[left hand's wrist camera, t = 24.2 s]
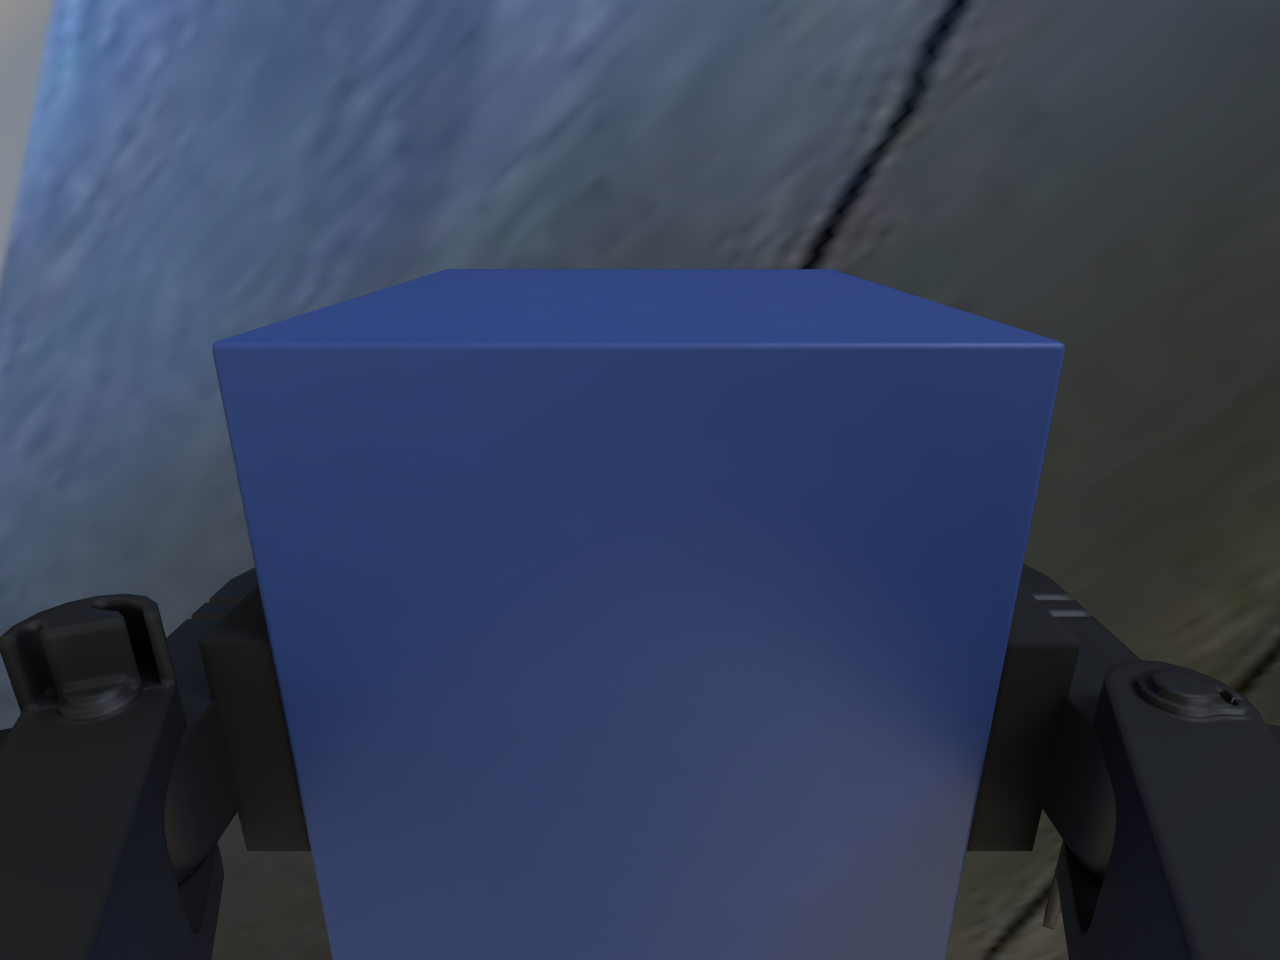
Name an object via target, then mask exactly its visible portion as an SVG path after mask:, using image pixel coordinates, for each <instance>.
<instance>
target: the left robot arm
mask: <svg viewBox="0 0 1280 960" xmlns="http://www.w3.org/2000/svg"><path fill="white" fill-rule="evenodd" d="M0 652H1V655H2V658H3V661H4V664H5V667H6V670H7V673H8V676H9V678H10V681H11V684H12V687H13V690H14V693H15V696H16V699H17V702H18V705H19V708H20V710H21V715H20V716H19V718H18V720H17V721H16V723H15V725H14V726H13V728H10V729H4V730H0V960H211V958H212V951H213V945H214V938H215V932H216V925H217V918H218V912H219V905H220V899H221V892H222V886H223V879H224V871H223V864H222V858H221V854H220V850H219V846H218V842H217V841H218V840H219V838H220V837H221V835H222V834H223V832H224V831H225V829H226V828H227V826H228V825H229V823H230V822H231V820H232V819H233V817H234V816H235V814H236V813H237V811H238V814H239V818H240V822H241V827H242V831H243V835H244V839H245V844H246V848H247V851H311V847H310V842H309V837H308V832H307V827H306V822H305V817H304V812H303V807H302V802H301V797H300V791H299V786H298V781H297V776H296V771H295V766H294V761H293V756H292V751H291V746H290V741H289V736H288V731H287V726H286V721H285V715H284V710H283V705H282V700H281V695H280V690H279V685H278V680H277V675H276V670H275V665H274V660H273V655H272V650H271V645H270V639H269V634H268V629H267V624H266V619H265V614H264V609H263V604H262V599H261V594H260V589H259V584H258V579H257V574H256V569H255V568H253V569H251V570H249V571H247V572H245V573H243V574H241V575H239V576H237V577H235V578H233V579H231V580H230V581H229V582H228V583H227V584H226V585H224V586H223V587H222V588H221V589H220V590H219V591H218V592H217V593H216V594H215V595H213V596H212V597H211V598H210V602H209V603H205V604H204V605H202V606H201V607H200V608H199V609H198V610H197V611H196V612H195V613H194V614H193V615H192V619H187V620H186V621H185V622H184V623H183V624H181V625H180V626H179V627H178V628H177V629H176V630H175V631H174V632H173V633H172V634H170V635H169V636H168V637H167V638H166V636H165V632H164V628H163V624H162V620H161V616H160V612H159V608H158V604H157V603H156V602H154V601H153V600H151V599H149V598H148V597H146V596H139V595H131V594H116V595H103V596H95V597H91V598H86V599H82V600H77V601H72V602H68V603H65V604H62V605H59V606H56V607H54V608H51V609H48V610H45V611H42V612H39V613H37V614H35V615H33V616H31V617H29V618H28V619H26V620H24V621H22V622H20V623H18V624H16V625H14V626H12V627H11V628H10V629H9V630H8V631H7V632H6V633H4V634H3V635H2V636H1V637H0ZM1042 808H1043V810H1044V811H1045V813H1046V814H1047V816H1048V817H1049V819H1050V820H1051V822H1052V823H1053V825H1054V826H1055V828H1056V829H1057V831H1058V832H1059V834H1060V835H1061V837H1062V838H1063V842H1062V846H1061V850H1060V854H1059V858H1058V862H1057V866H1056V870H1055V874H1054V878H1053V882H1052V886H1051V890H1050V894H1049V898H1048V902H1047V906H1046V910H1045V916H1044V922H1043V927H1047V928H1050V929H1053V930H1054V929H1055V925H1056V921H1057V917H1058V914H1059V913H1060V912H1062V916H1063V923H1064V930H1065V936H1066V943H1067V949H1068V956H1069V960H1280V727H1279V726H1274V725H1268V724H1266V723H1265V721H1264V720H1263V718H1262V716H1261V715H1260V713H1259V712H1258V711H1257V710H1256V709H1255V708H1254V706H1253V705H1252V704H1251V703H1250V702H1249V701H1248V700H1247V699H1246V698H1245V697H1244V696H1243V695H1241V694H1240V693H1238V692H1236V691H1235V690H1233V689H1232V688H1230V687H1228V686H1227V685H1225V684H1224V683H1222V682H1220V681H1218V680H1216V679H1213V678H1211V677H1209V676H1206V675H1204V674H1201V673H1199V672H1197V671H1194V670H1192V669H1188V668H1184V667H1180V666H1176V665H1172V664H1169V663H1165V662H1157V661H1146V660H1141V659H1140V658H1139V657H1137V656H1136V655H1135V654H1134V653H1133V652H1132V651H1131V650H1130V649H1129V648H1127V647H1126V646H1125V645H1124V644H1123V643H1122V642H1121V641H1120V640H1119V639H1117V638H1116V637H1115V636H1114V635H1113V634H1112V633H1111V632H1110V631H1109V630H1107V629H1106V628H1105V627H1104V626H1103V625H1102V624H1101V623H1100V622H1099V621H1097V620H1096V619H1095V618H1094V617H1093V616H1089V615H1088V612H1087V611H1086V610H1085V609H1084V608H1083V607H1082V606H1081V605H1080V604H1079V603H1077V602H1076V601H1075V600H1071V599H1070V595H1069V594H1067V593H1066V592H1065V591H1064V590H1063V589H1062V588H1061V587H1060V586H1059V585H1057V584H1056V583H1055V582H1054V581H1053V580H1052V579H1051V578H1050V577H1048V576H1046V575H1044V574H1042V573H1040V572H1038V571H1036V570H1034V569H1032V568H1030V567H1028V566H1026V565H1024V564H1023V566H1022V571H1021V576H1020V581H1019V587H1018V592H1017V597H1016V602H1015V607H1014V612H1013V617H1012V622H1011V627H1010V632H1009V637H1008V642H1007V648H1006V653H1005V658H1004V663H1003V668H1002V673H1001V678H1000V683H999V688H998V693H997V698H996V703H995V709H994V714H993V719H992V724H991V729H990V734H989V739H988V744H987V749H986V754H985V759H984V764H983V769H982V775H981V780H980V785H979V790H978V795H977V800H976V805H975V810H974V815H973V820H972V825H971V830H970V836H969V841H968V846H967V851H1032V850H1033V846H1034V841H1035V837H1036V833H1037V829H1038V824H1039V820H1040V816H1041V812H1042Z"/></svg>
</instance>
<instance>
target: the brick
mask: <svg viewBox="0 0 1280 960" xmlns="http://www.w3.org/2000/svg"><path fill="white" fill-rule="evenodd" d="M212 351H213V356H214V361H215V366H216V371H217V376H218V381H219V386H220V391H221V396H222V401H223V406H224V411H225V417H226V422H227V427H228V432H229V437H230V442H231V447H232V452H233V457H234V462H235V467H236V472H237V477H238V482H239V487H240V493H241V498H242V503H243V508H244V513H245V518H246V523H247V528H248V533H249V538H250V543H251V548H252V553H253V558H254V563H255V569H256V574H257V579H258V584H259V589H260V594H261V599H262V604H263V609H264V614H265V619H266V624H267V629H268V634H269V639H270V645H271V650H272V655H273V660H274V665H275V670H276V675H277V680H278V685H279V690H280V695H281V700H282V705H283V710H284V715H285V721H286V726H287V731H288V736H289V741H290V746H291V751H292V756H293V761H294V766H295V771H296V776H297V781H298V786H299V791H300V797H301V802H302V807H303V812H304V817H305V822H306V827H307V832H308V837H309V842H310V847H311V852H312V857H313V862H314V868H315V873H316V878H317V883H318V888H319V893H320V898H321V903H322V908H323V913H324V918H325V923H326V928H327V933H328V938H329V944H330V949H331V954H332V959H333V960H945V957H946V952H947V947H948V942H949V937H950V932H951V927H952V922H953V917H954V912H955V907H956V902H957V897H958V891H959V886H960V881H961V876H962V871H963V866H964V861H965V856H966V851H967V846H968V841H969V836H970V830H971V825H972V820H973V815H974V810H975V805H976V800H977V795H978V790H979V785H980V780H981V775H982V769H983V764H984V759H985V754H986V749H987V744H988V739H989V734H990V729H991V724H992V719H993V714H994V709H995V703H996V698H997V693H998V688H999V683H1000V678H1001V673H1002V668H1003V663H1004V658H1005V653H1006V648H1007V642H1008V637H1009V632H1010V627H1011V622H1012V617H1013V612H1014V607H1015V602H1016V597H1017V592H1018V587H1019V581H1020V576H1021V571H1022V566H1023V561H1024V556H1025V551H1026V546H1027V541H1028V536H1029V531H1030V526H1031V520H1032V515H1033V510H1034V505H1035V500H1036V495H1037V490H1038V485H1039V480H1040V475H1041V470H1042V465H1043V460H1044V454H1045V449H1046V444H1047V439H1048V434H1049V429H1050V424H1051V419H1052V414H1053V409H1054V404H1055V399H1056V393H1057V388H1058V383H1059V378H1060V373H1061V368H1062V363H1063V358H1064V353H1065V345H1064V344H1063V343H1061V342H1059V341H1056V340H1053V339H1050V338H1047V337H1043V336H1040V335H1037V334H1034V333H1031V332H1028V331H1024V330H1021V329H1018V328H1015V327H1012V326H1009V325H1006V324H1002V323H999V322H996V321H993V320H990V319H987V318H984V317H980V316H977V315H974V314H971V313H968V312H965V311H962V310H958V309H955V308H952V307H949V306H946V305H943V304H940V303H936V302H933V301H930V300H927V299H924V298H921V297H918V296H914V295H911V294H908V293H905V292H902V291H899V290H896V289H892V288H889V287H886V286H883V285H880V284H877V283H874V282H870V281H867V280H864V279H861V278H858V277H855V276H851V275H848V274H845V273H842V272H839V271H836V270H833V269H446V270H443V271H440V272H437V273H433V274H430V275H427V276H424V277H421V278H417V279H414V280H411V281H408V282H405V283H402V284H398V285H395V286H392V287H389V288H386V289H383V290H379V291H376V292H373V293H370V294H367V295H363V296H360V297H357V298H354V299H351V300H348V301H344V302H341V303H338V304H335V305H332V306H328V307H325V308H322V309H319V310H316V311H313V312H309V313H306V314H303V315H300V316H297V317H293V318H290V319H287V320H284V321H281V322H278V323H274V324H271V325H268V326H265V327H262V328H259V329H255V330H252V331H249V332H246V333H243V334H239V335H236V336H233V337H230V338H227V339H224V340H220V341H218V342H216V343H214V344H213V348H212Z"/></svg>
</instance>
